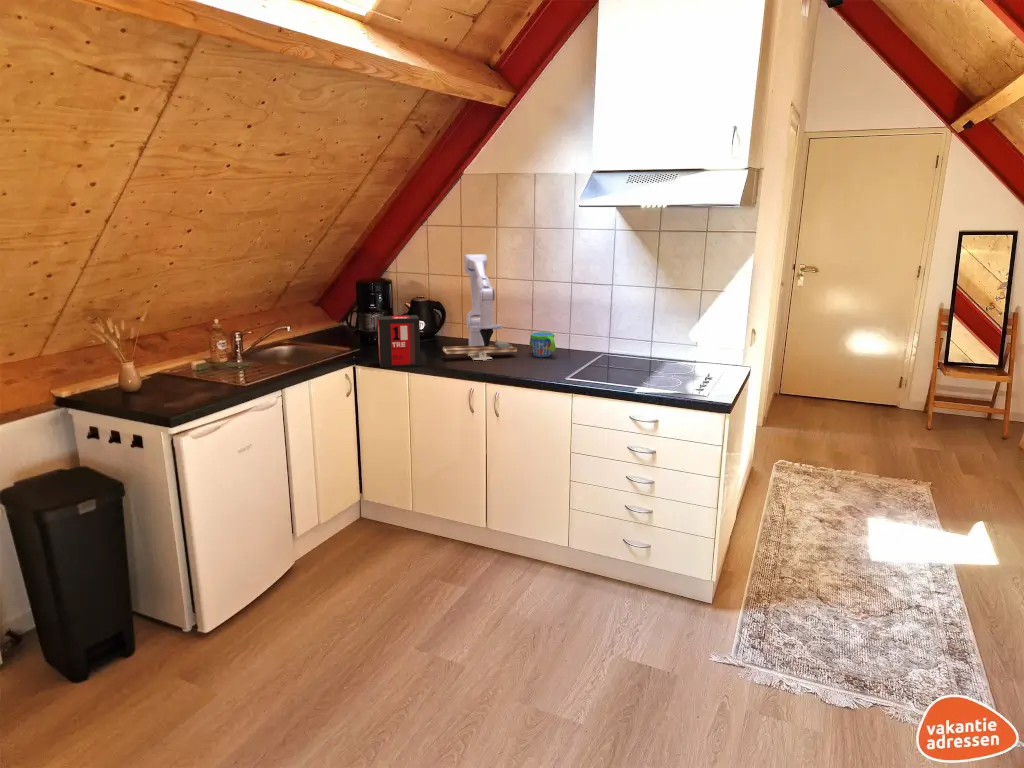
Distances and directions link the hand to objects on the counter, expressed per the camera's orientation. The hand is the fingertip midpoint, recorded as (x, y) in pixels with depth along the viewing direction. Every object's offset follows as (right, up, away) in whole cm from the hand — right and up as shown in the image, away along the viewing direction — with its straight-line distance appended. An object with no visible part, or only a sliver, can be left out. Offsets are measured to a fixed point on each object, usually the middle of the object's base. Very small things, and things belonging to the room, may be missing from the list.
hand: (486, 346), depth 295 cm
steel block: (+7, -1, +3) cm, 7 cm away
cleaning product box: (-36, -9, -13) cm, 39 cm away
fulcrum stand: (-3, -5, 0) cm, 6 cm away
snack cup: (+25, -4, +5) cm, 26 cm away
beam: (-3, -2, 0) cm, 4 cm away
